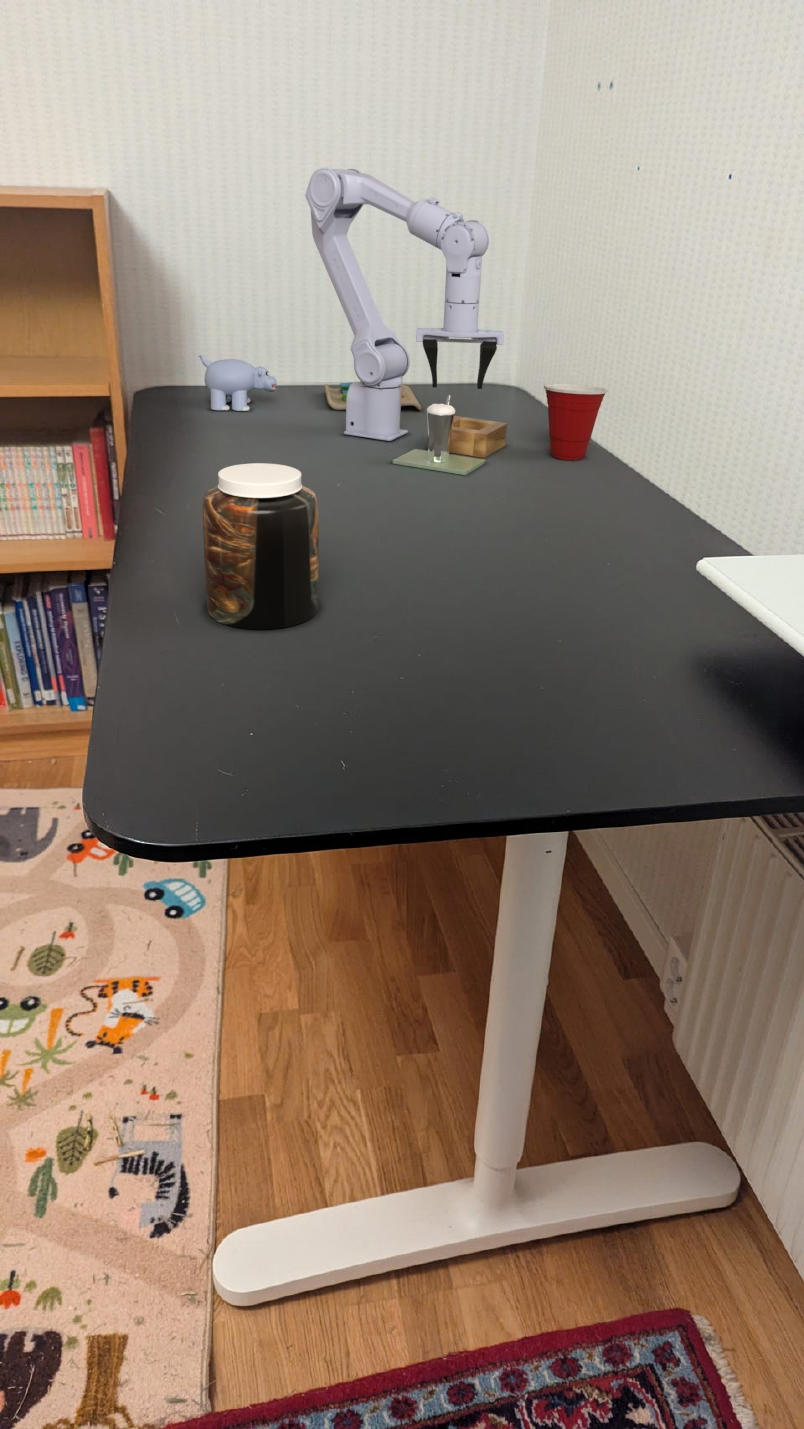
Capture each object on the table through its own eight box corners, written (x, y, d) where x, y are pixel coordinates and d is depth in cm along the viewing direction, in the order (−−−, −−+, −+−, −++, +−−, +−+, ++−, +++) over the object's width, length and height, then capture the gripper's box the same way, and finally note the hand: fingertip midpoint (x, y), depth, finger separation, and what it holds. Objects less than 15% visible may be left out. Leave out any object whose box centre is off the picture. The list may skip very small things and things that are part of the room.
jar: (271, 640, 104) (268, 496, 96) (185, 613, 109) (176, 475, 102) (338, 605, 113) (340, 471, 105) (255, 582, 118) (252, 452, 111)
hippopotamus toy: (277, 412, 198) (276, 361, 193) (199, 410, 196) (196, 359, 191) (277, 401, 207) (276, 352, 203) (202, 399, 205) (200, 350, 201)
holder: (428, 449, 177) (430, 426, 175) (451, 437, 185) (452, 415, 183) (484, 458, 173) (486, 434, 171) (505, 445, 182) (507, 423, 180)
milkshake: (457, 458, 170) (462, 397, 165) (445, 465, 166) (449, 402, 161) (433, 454, 172) (436, 393, 167) (420, 461, 167) (423, 398, 162)
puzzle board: (323, 393, 216) (323, 376, 215) (411, 394, 219) (412, 378, 217) (327, 410, 201) (327, 392, 200) (422, 412, 203) (423, 394, 202)
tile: (392, 463, 167) (392, 460, 167) (414, 452, 175) (414, 448, 174) (465, 475, 163) (465, 471, 163) (485, 463, 170) (485, 459, 170)
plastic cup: (596, 450, 181) (605, 381, 176) (601, 466, 172) (611, 393, 166) (535, 446, 182) (542, 377, 176) (537, 461, 173) (544, 389, 167)
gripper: (503, 301, 171) (497, 384, 177) (417, 298, 171) (414, 381, 177) (507, 305, 165) (500, 392, 171) (418, 302, 164) (414, 389, 171)
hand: (457, 387), depth 174 cm, fingers open, 7 cm apart
